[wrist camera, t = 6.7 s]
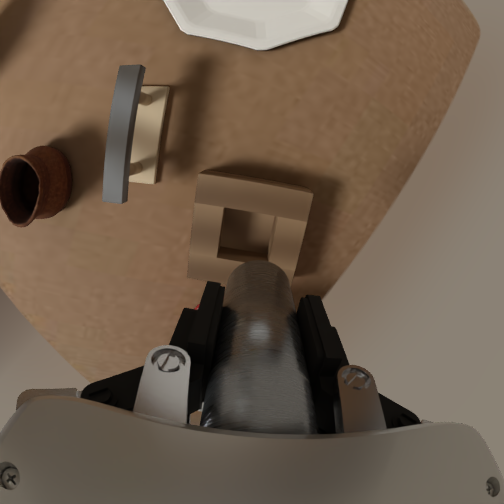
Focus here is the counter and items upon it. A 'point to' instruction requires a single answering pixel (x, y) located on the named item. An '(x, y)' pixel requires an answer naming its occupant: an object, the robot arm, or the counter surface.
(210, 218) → the block with square hole
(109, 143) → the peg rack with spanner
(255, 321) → the pin
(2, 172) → the ceramic pot
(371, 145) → the counter surface
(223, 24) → the plate
